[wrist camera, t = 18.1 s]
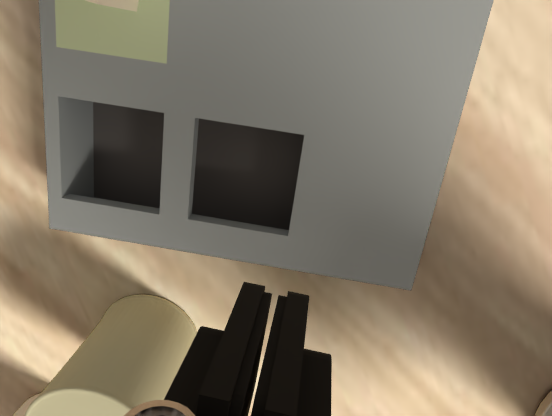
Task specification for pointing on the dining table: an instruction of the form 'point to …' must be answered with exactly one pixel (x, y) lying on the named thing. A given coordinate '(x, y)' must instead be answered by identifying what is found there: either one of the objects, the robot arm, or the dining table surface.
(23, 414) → the milk bottle
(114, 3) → the block
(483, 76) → the dining table surface
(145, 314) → the can
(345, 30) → the box
